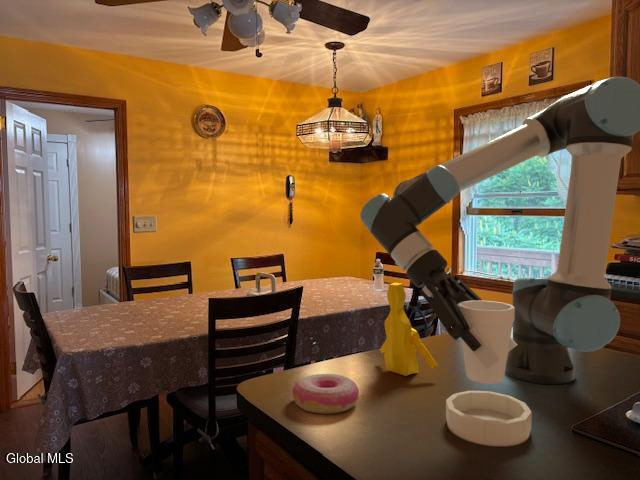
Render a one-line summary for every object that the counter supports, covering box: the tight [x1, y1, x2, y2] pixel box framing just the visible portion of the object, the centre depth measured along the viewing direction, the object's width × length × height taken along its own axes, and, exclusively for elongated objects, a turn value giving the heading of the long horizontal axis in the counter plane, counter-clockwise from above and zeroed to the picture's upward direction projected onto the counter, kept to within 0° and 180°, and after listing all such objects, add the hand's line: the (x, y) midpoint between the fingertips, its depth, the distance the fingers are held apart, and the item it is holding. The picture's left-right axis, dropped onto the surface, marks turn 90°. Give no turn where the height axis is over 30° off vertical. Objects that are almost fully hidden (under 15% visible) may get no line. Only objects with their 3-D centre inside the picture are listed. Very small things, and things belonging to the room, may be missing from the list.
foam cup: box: [457, 299, 515, 385], centre depth 84 cm, size 10×9×13 cm
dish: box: [445, 390, 533, 448], centre depth 85 cm, size 14×14×4 cm
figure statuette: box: [379, 282, 438, 377], centre depth 114 cm, size 18×8×22 cm, turn 39°
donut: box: [292, 373, 360, 415], centre depth 97 cm, size 14×13×5 cm
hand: (502, 356), depth 83 cm, fingers closed on foam cup, 9 cm apart
